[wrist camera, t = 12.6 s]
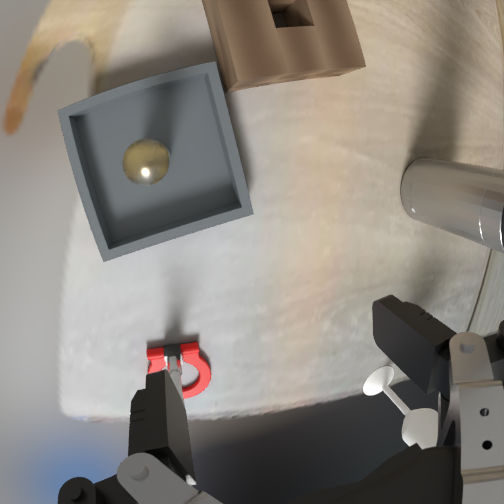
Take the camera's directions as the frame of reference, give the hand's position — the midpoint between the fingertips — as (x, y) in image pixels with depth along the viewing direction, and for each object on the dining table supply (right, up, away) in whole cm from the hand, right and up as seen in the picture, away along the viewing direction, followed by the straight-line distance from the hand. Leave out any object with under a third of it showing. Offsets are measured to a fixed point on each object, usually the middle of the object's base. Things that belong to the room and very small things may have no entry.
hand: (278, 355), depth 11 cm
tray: (-11, +13, +21) cm, 27 cm away
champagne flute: (+22, -19, +40) cm, 49 cm away
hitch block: (+1, +29, +19) cm, 35 cm away
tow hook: (-11, -12, +29) cm, 33 cm away
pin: (-11, +13, +20) cm, 26 cm away
